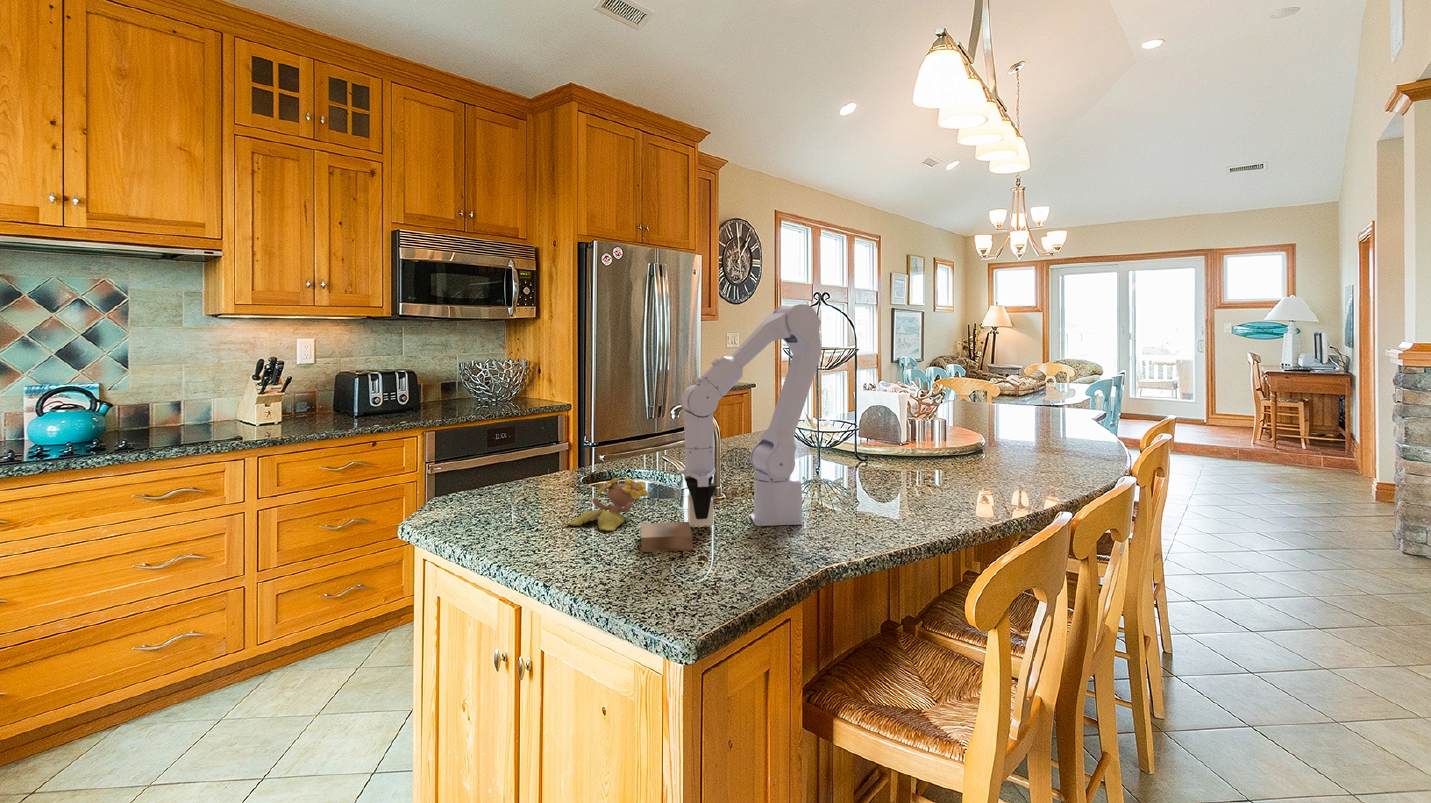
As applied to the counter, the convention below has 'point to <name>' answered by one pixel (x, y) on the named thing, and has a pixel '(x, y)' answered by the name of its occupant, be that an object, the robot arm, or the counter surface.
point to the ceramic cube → (692, 516)
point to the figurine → (620, 498)
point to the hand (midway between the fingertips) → (700, 514)
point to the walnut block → (666, 536)
